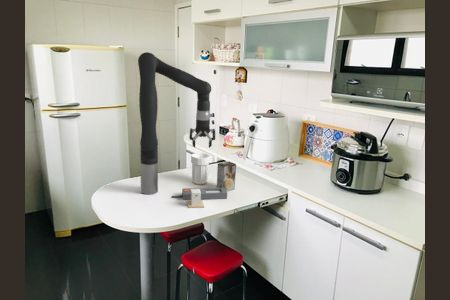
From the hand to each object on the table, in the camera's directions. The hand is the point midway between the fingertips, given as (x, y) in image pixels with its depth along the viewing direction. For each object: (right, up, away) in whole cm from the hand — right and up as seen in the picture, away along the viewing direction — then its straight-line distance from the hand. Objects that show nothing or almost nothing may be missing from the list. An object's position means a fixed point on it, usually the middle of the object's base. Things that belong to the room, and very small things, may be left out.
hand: (202, 147), depth 181 cm
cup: (-3, -22, +19) cm, 29 cm away
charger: (-3, -30, -11) cm, 32 cm away
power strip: (-2, -28, -1) cm, 28 cm away
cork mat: (-3, -30, -11) cm, 32 cm away
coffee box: (+13, -25, +11) cm, 31 cm away
